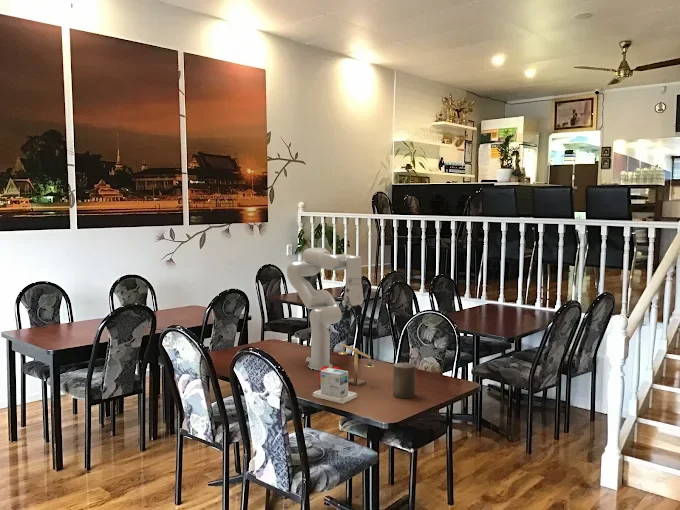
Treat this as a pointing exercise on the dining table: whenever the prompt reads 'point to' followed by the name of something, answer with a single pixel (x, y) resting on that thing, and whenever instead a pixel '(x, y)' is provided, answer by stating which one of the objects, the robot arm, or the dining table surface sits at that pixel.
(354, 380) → the balance
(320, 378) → the tomato
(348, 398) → the platter
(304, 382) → the dining table surface
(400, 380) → the pillar candle
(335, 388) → the light bulb box
